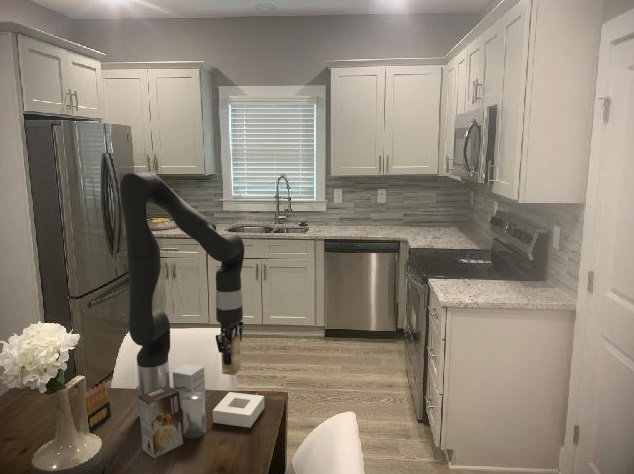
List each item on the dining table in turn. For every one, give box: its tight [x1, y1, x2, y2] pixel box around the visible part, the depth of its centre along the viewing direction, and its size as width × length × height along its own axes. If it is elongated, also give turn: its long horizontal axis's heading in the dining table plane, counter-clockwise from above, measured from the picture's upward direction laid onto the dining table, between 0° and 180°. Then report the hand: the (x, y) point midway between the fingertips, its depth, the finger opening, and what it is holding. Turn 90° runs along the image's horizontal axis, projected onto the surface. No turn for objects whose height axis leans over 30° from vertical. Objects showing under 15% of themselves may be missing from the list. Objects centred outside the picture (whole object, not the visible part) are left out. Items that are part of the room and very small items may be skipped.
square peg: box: [221, 334, 242, 376], centre depth 145 cm, size 4×4×11 cm
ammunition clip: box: [85, 380, 112, 433], centre depth 150 cm, size 11×2×12 cm, turn 164°
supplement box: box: [172, 363, 206, 410], centre depth 161 cm, size 7×7×13 cm
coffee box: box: [138, 385, 184, 459], centre depth 138 cm, size 9×6×16 cm
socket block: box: [212, 391, 265, 428], centre depth 155 cm, size 12×12×4 cm
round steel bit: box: [181, 392, 207, 439], centre depth 145 cm, size 6×6×11 cm
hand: (231, 361), depth 145 cm, fingers closed on square peg, 4 cm apart
